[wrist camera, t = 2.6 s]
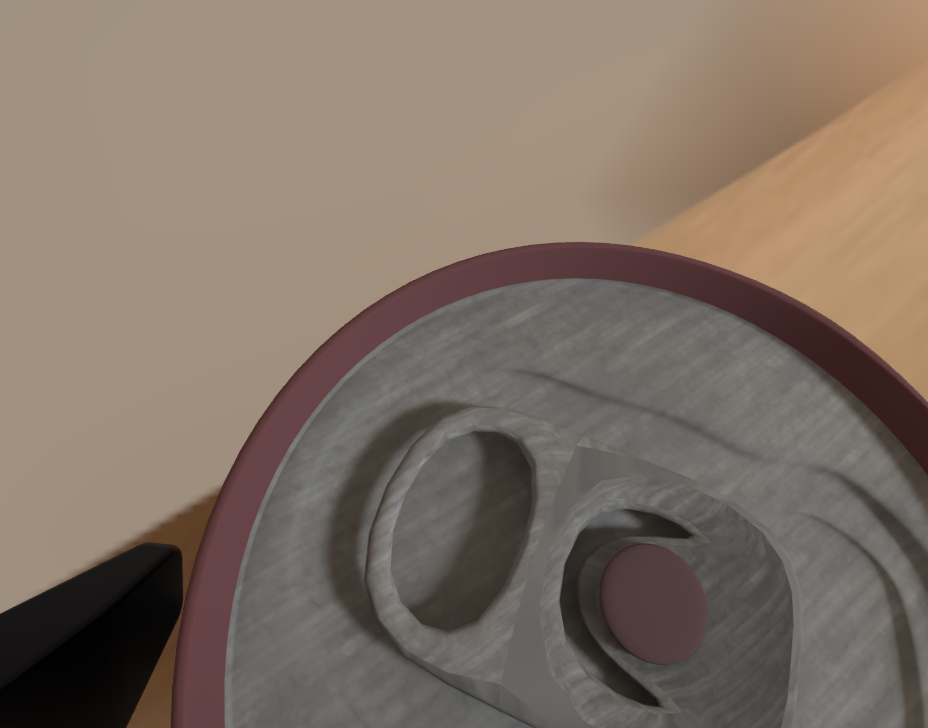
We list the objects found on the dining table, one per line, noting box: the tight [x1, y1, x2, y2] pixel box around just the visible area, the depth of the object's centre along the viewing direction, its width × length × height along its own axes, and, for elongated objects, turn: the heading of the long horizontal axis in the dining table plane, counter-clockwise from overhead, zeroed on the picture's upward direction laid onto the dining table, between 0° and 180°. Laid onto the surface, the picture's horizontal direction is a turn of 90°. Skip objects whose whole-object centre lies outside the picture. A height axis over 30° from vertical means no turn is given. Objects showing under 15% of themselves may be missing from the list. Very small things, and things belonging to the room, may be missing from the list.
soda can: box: [171, 242, 928, 728], centre depth 9 cm, size 7×7×12 cm
